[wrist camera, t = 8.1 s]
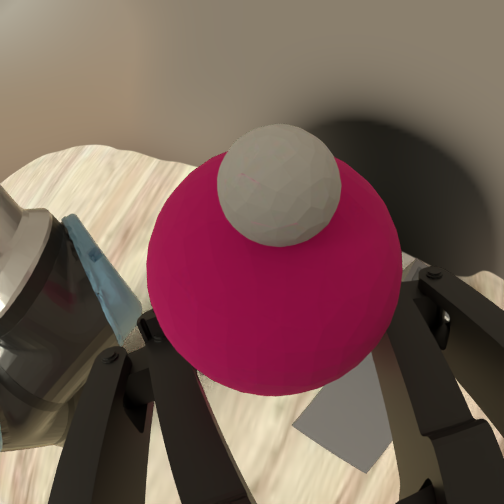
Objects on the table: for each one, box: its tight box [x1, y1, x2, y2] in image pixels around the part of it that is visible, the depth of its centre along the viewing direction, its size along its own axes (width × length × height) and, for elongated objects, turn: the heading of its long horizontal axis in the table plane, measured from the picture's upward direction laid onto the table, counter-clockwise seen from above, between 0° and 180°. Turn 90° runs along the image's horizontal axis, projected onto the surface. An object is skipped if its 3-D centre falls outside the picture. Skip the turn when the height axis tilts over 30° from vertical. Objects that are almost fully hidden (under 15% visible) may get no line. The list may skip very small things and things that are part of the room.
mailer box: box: [292, 258, 450, 473], centre depth 32 cm, size 13×25×7 cm, turn 140°
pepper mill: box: [146, 124, 402, 396], centre depth 13 cm, size 7×7×20 cm
